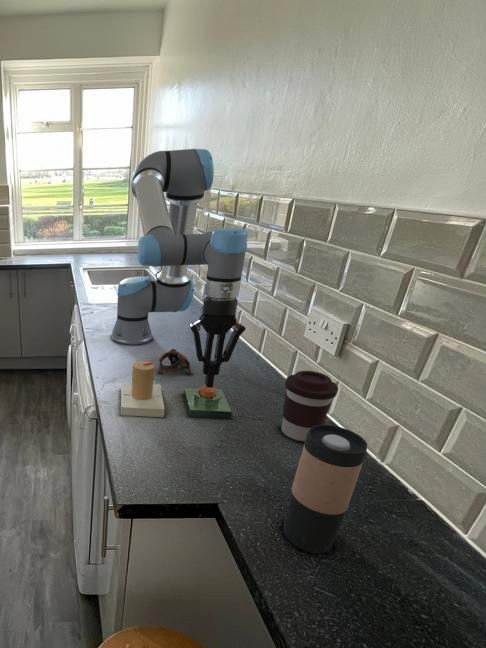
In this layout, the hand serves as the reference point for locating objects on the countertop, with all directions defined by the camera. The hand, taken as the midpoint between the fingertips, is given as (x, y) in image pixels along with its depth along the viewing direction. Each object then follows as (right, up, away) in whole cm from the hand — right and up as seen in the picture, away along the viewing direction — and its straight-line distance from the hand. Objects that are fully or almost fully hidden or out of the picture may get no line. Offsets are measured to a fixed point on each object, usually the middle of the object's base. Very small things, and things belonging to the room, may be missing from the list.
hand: (208, 385), depth 105 cm
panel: (-16, -5, +6) cm, 18 cm away
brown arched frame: (-2, +3, +23) cm, 23 cm away
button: (0, -3, +1) cm, 3 cm away
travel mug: (+2, -24, -37) cm, 44 cm away
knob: (-17, -3, +5) cm, 17 cm away
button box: (0, -6, +3) cm, 6 cm away
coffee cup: (+17, -11, -10) cm, 23 cm away
